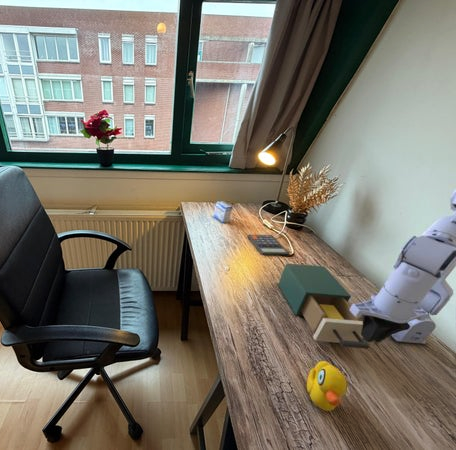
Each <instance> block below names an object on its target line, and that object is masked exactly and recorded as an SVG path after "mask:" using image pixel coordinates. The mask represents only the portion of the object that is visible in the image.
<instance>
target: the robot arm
mask: <svg viewBox="0 0 456 450" xmlns="http://www.w3.org/2000/svg"><path fill="white" fill-rule="evenodd" d="M454 189H455V190H454V191H453V192H452V194H451V195H450V197H449V206H450V210H451V211H453V213H452V214H451V215H446V216H442V217H439V218H438V219H436V220H435V221H434V222H433V223H432V224H431V225H430V226H429V227H428V228H427V229H426V230H425V231H424V232H423V233H421V235H419V236H417V235H413V236H411V237H410V238H409V239H408V240H407V241H406V242H405V244H403V246H402V248H401V249H400V251H399V253H398V255H397V258H396V261H395V262H394V265H393V268H394V269H393V270H392V272H391V273H390V275H389V276H388V277H387V279H386V281H384V282H385V283H384V284H383V286H382V287H381V289H380V290H379V292H378V293H377V294H372V295H371V296H370V299H368V300H366V301H362V302H359V303H352V304H351V308H350V311H351V313H352V314H353V315H354V316H355V317H361V318H362V321H363V326H362V332H361V335H362V336H363V339H364V340H365V342H366V343H372V342H373V341H374V342H375V343H381V342H383V341H384V340H386V339H387V338H389V337H392V338H393V340H394V341H395V342H399V343H408V344H409V343H411V344H422V345H425V344H426V340H427V339H428V337H429V336H430V335H431V334H432V333H433V332H434V331H435V329H436V327H437V325H436V323H435V321H434V320H433V319H432V317H431V316H437V315H438V314H440V312H441V311H442V310H443V308H444V307H445V306H446V305H447V304H448V303H449V301H450V300H451V298H452V297H453V296H454V289H453V288H452V286H451V285H450V284H449V283H448V282H447V280H446V279H447V277H449V275H451V273H452V272H453V271H454V269H455V268H456V188H454Z"/></svg>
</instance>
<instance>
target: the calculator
mask: <svg viewBox="0 0 456 450" xmlns="http://www.w3.org/2000/svg"><path fill="white" fill-rule="evenodd" d="M247 237H248V238H249V240H250V241H251V242H252V244H253V245H254V247H255V248H256V249H257V250H258V251H259V252H260V254H261V255H268V256H270V255H271V256H272V255H273V256H289V255H290V252H289V251H288V250H287V249H286V248H285V247H284V246H283V245H282V244H281V243H280V242H279V241H278V239H276V238H275V236H273V235H272V234H247Z"/></svg>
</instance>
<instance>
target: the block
mask: <svg viewBox="0 0 456 450" xmlns="http://www.w3.org/2000/svg"><path fill="white" fill-rule="evenodd" d="M319 306H320V308H321V309H322V311H323V312H324V313H325V317H324V318H329V319H341V320H344V318H343V317H342V316H341V314H340V313H339V312H338V311H337V309H336V308H335V307H334V305H324V304H319Z"/></svg>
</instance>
